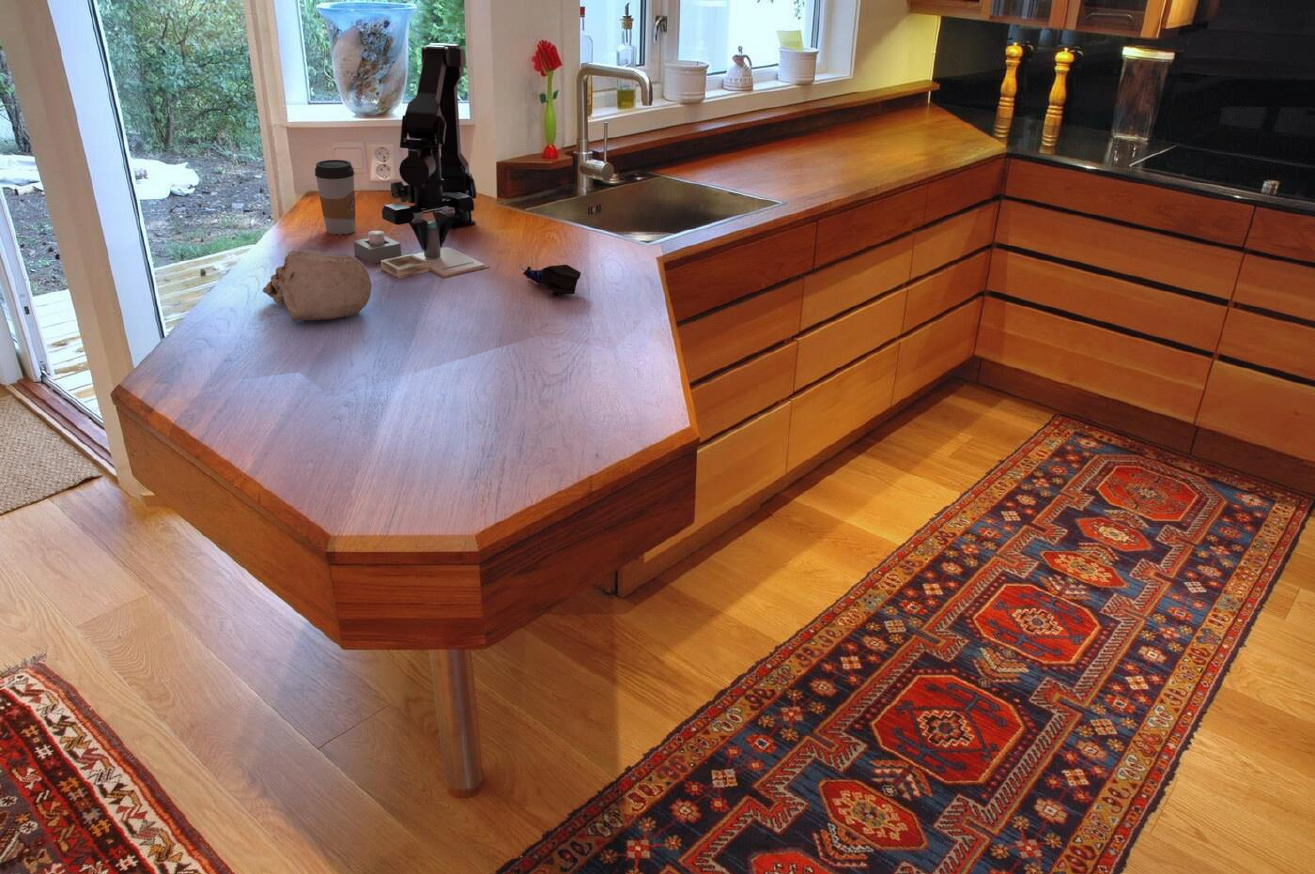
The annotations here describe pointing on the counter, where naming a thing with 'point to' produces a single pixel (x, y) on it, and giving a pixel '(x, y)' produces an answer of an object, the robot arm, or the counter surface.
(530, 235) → the counter surface
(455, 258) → the white flat rectangular panel
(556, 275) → the toy
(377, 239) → the button
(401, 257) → the holder tray
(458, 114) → the robot arm
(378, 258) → the button housing
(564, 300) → the counter surface
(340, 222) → the coffee cup
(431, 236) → the marker
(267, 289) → the decorative skull
